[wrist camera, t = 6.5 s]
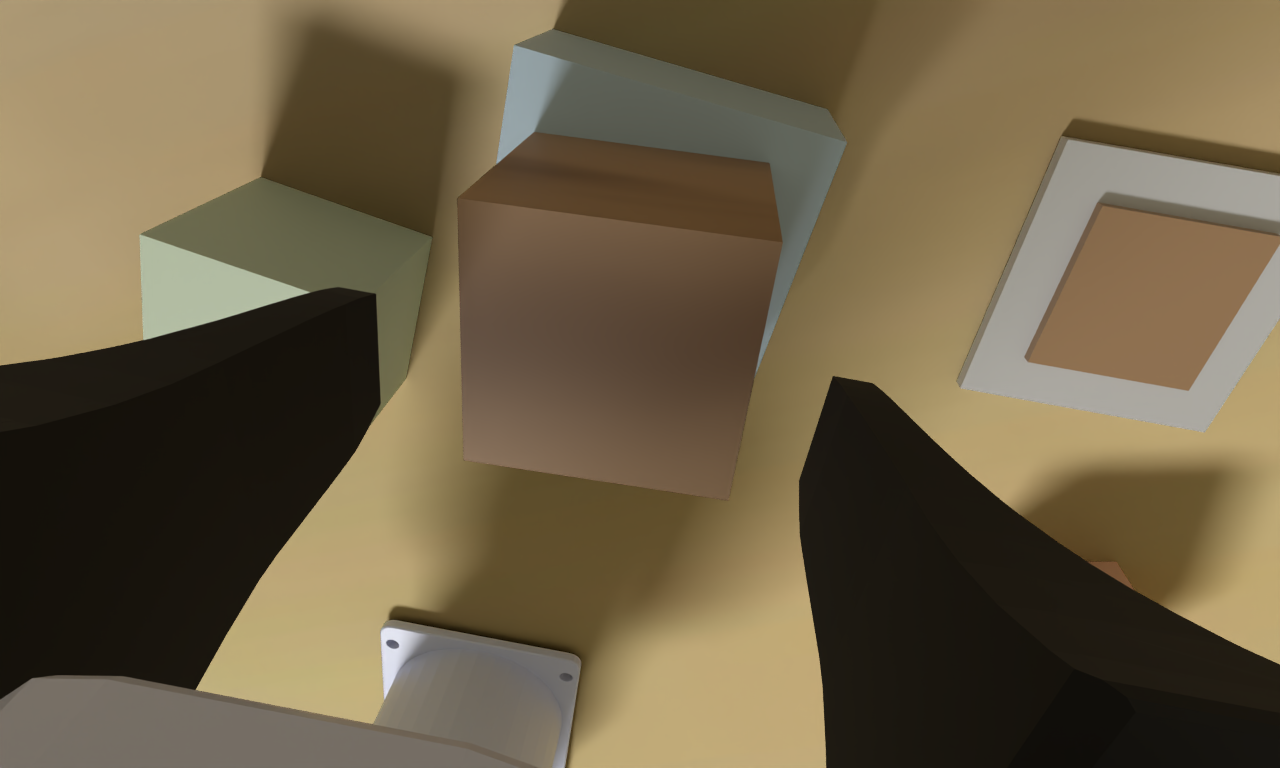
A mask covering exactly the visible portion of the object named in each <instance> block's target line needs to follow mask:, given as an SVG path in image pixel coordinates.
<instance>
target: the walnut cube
mask: <svg viewBox="0 0 1280 768" xmlns="http://www.w3.org/2000/svg"><path fill="white" fill-rule="evenodd" d="M457 208H458V249H459V291H460V332H461V373H462V414H463V455H464V460H465V461H471V462H478V463H485V464H491V465H498V466H504V467H511V468H517V469H524V470H531V471H537V472H544V473H550V474H557V475H563V476H570V477H576V478H583V479H590V480H596V481H603V482H609V483H616V484H622V485H629V486H635V487H642V488H649V489H655V490H662V491H668V492H675V493H681V494H688V495H695V496H701V497H708V498H714V499H721V500H727V501H729V496H730V491H731V487H732V482H733V477H734V472H735V468H736V463H737V458H738V453H739V449H740V444H741V439H742V434H743V430H744V425H745V420H746V415H747V411H748V406H749V401H750V396H751V392H752V387H753V382H754V377H755V373H756V368H757V363H758V358H759V354H760V349H761V344H762V339H763V335H764V330H765V325H766V320H767V316H768V311H769V306H770V301H771V297H772V292H773V287H774V282H775V278H776V273H777V268H778V263H779V259H780V254H781V249H782V244H783V240H782V234H781V228H780V222H779V216H778V210H777V204H776V198H775V192H774V186H773V180H772V174H771V168H770V163H767V162H759V161H752V160H744V159H737V158H729V157H721V156H714V155H706V154H699V153H691V152H683V151H676V150H668V149H661V148H653V147H645V146H638V145H630V144H623V143H615V142H607V141H600V140H592V139H585V138H577V137H569V136H562V135H554V134H546V133H539V132H533V133H532V134H531V135H530V136H529V137H528V138H526V139H525V140H524V141H523V142H522V143H521V144H519V145H518V146H517V147H516V148H515V149H514V150H512V151H511V152H510V153H509V154H508V155H507V156H505V157H504V158H503V159H502V160H501V161H500V162H499V163H497V164H496V165H495V166H494V167H493V168H492V169H490V170H489V171H488V172H487V173H486V174H485V175H483V176H482V177H481V178H480V179H479V180H478V181H477V182H475V183H474V184H473V185H472V186H471V187H470V188H468V189H467V190H466V191H465V192H464V193H463V194H461V195H460V196H459V197H458V198H457Z"/></svg>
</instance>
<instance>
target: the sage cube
mask: <svg viewBox="0 0 1280 768" xmlns="http://www.w3.org/2000/svg"><path fill="white" fill-rule="evenodd" d="M431 243H432V237H431V236H428V235H425V234H422V233H420V232H417V231H414V230H411V229H408V228H405V227H402V226H399V225H397V224H394V223H391V222H388V221H385V220H382V219H379V218H377V217H374V216H371V215H368V214H365V213H362V212H359V211H357V210H354V209H351V208H348V207H345V206H342V205H339V204H337V203H334V202H331V201H328V200H325V199H322V198H319V197H317V196H314V195H311V194H308V193H305V192H302V191H299V190H297V189H294V188H291V187H288V186H285V185H282V184H279V183H276V182H274V181H271V180H268V179H265V178H262V177H260V178H258V179H256V180H253V181H251V182H249V183H247V184H245V185H243V186H241V187H239V188H237V189H234V190H232V191H230V192H228V193H226V194H224V195H222V196H220V197H218V198H215V199H213V200H211V201H209V202H207V203H205V204H203V205H201V206H198V207H196V208H194V209H192V210H190V211H188V212H186V213H184V214H182V215H179V216H177V217H175V218H173V219H171V220H169V221H167V222H165V223H162V224H160V225H158V226H156V227H154V228H152V229H150V230H148V231H146V232H143V233H141V234H140V260H141V287H142V315H143V340H146V339H150V338H154V337H158V336H161V335H165V334H169V333H172V332H176V331H180V330H183V329H187V328H191V327H194V326H198V325H202V324H205V323H209V322H213V321H217V320H220V319H223V318H227V317H230V316H233V315H236V314H240V313H243V312H246V311H249V310H253V309H256V308H259V307H263V306H266V305H269V304H272V303H276V302H279V301H282V300H286V299H289V298H292V297H296V296H299V295H303V294H307V293H310V292H314V291H318V290H323V289H328V288H334V287H342V288H347V289H353V290H358V291H364V292H369V293H375V294H376V301H377V325H378V349H379V373H380V397H381V405H380V407H379V408H378V410H377V412H376V414H375V416H374V418H373V420H372V422H373V421H374V420H375V418H376V417H377V416H378V414H379V413H380V412H381V411H382V409H383V408H384V407H385V405H386V404H387V403H388V401H389V400H390V399H391V398H392V396H393V395H394V394H395V392H396V391H397V390H398V388H399V387H400V386H401V385H402V383H403V382H404V381H405V379H406V376H407V371H408V366H409V360H410V355H411V350H412V344H413V339H414V334H415V328H416V323H417V318H418V312H419V307H420V301H421V296H422V291H423V285H424V280H425V275H426V269H427V264H428V259H429V253H430V248H431ZM372 422H371V424H372ZM371 424H370V425H371Z"/></svg>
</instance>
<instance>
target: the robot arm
mask: <svg viewBox="0 0 1280 768" xmlns="http://www.w3.org/2000/svg"><path fill="white" fill-rule="evenodd" d="M380 405H381V397H380V373H379V349H378V325H377V301H376V294H375V293H369V292H364V291H358V290H353V289H347V288H342V287H334V288H328V289H323V290H318V291H314V292H310V293H307V294H303V295H299V296H296V297H292V298H289V299H286V300H282V301H279V302H276V303H272V304H269V305H266V306H263V307H259V308H256V309H253V310H249V311H246V312H243V313H240V314H236V315H233V316H230V317H227V318H223V319H220V320H217V321H213V322H209V323H205V324H202V325H198V326H194V327H191V328H187V329H183V330H180V331H176V332H172V333H169V334H165V335H161V336H158V337H154V338H150V339H146V340H142V341H138V342H133V343H129V344H124V345H120V346H115V347H111V348H106V349H101V350H95V351H90V352H85V353H80V354H75V355H69V356H64V357H58V358H52V359H46V360H38V361H31V362H23V363H16V364H8V365H1V366H0V768H565V765H566V759H567V752H568V746H569V740H570V733H571V727H572V721H573V714H574V708H575V701H576V695H577V689H578V682H579V676H580V670H581V660H580V659H579V657H577V656H576V655H574V654H571V653H567V652H562V651H556V650H551V649H546V648H541V647H535V646H530V645H525V644H520V643H514V642H509V641H504V640H498V639H493V638H488V637H483V636H477V635H472V634H467V633H462V632H456V631H451V630H446V629H441V628H435V627H430V626H425V625H419V624H414V623H409V622H404V621H398V620H389V621H386V622H385V623H384V625H383V627H382V629H381V632H380V635H381V653H382V672H383V690H384V702H383V704H382V706H381V709H380V711H379V713H378V715H377V717H376V719H375V721H374V724H369V723H363V722H358V721H353V720H348V719H343V718H337V717H332V716H327V715H322V714H317V713H311V712H306V711H301V710H296V709H291V708H285V707H280V706H275V705H270V704H265V703H260V702H254V701H249V700H244V699H239V698H234V697H228V696H223V695H218V694H213V693H208V692H202V691H197V690H196V688H197V686H198V684H199V682H200V681H201V679H202V677H203V675H204V674H205V672H206V670H207V668H208V666H209V665H210V663H211V661H212V659H213V658H214V656H215V654H216V652H217V650H218V649H219V647H220V645H221V643H222V642H223V640H224V638H225V636H226V634H227V633H228V631H229V629H230V628H231V626H232V625H233V623H234V621H235V620H236V618H237V616H238V615H239V613H240V611H241V610H242V608H243V606H244V605H245V603H246V601H247V600H248V598H249V596H250V595H251V593H252V591H253V590H254V588H255V586H256V585H257V583H258V581H259V580H260V578H261V577H262V575H263V574H264V573H265V571H266V570H267V568H268V567H269V565H270V564H271V563H272V561H273V560H274V558H275V557H276V555H277V554H278V553H279V551H280V550H281V549H282V548H283V546H284V545H285V544H286V542H287V541H288V540H289V538H290V537H291V536H292V535H293V533H294V532H295V531H296V529H297V528H298V527H299V525H300V524H301V523H302V522H303V520H304V519H305V518H306V516H307V515H308V514H309V512H310V511H311V510H312V509H313V507H314V506H315V505H316V503H317V502H318V501H319V499H320V498H321V497H322V496H323V494H324V493H325V492H326V490H327V489H328V488H329V486H330V485H331V484H332V482H333V481H334V480H335V478H336V477H337V476H338V474H339V473H340V472H341V470H342V469H343V468H344V466H345V465H346V464H347V462H348V461H349V460H350V458H351V457H352V455H353V454H354V453H355V451H356V449H357V448H358V446H359V444H360V442H361V441H362V439H363V437H364V435H365V433H366V432H367V430H368V428H369V426H370V424H371V422H372V420H373V418H374V416H375V414H376V412H377V410H378V408H379V407H380ZM799 521H800V539H801V546H802V553H803V559H804V566H805V572H806V578H807V585H808V591H809V597H810V603H811V609H812V615H813V621H814V627H815V634H816V640H817V646H818V652H819V658H820V667H821V676H822V684H823V701H824V721H825V741H826V768H1280V665H1279V664H1277V663H1275V662H1273V661H1271V660H1268V659H1266V658H1264V657H1262V656H1260V655H1257V654H1255V653H1253V652H1251V651H1248V650H1246V649H1244V648H1242V647H1240V646H1238V645H1236V644H1234V643H1232V642H1230V641H1228V640H1226V639H1224V638H1222V637H1220V636H1218V635H1216V634H1214V633H1212V632H1210V631H1209V630H1207V629H1205V628H1203V627H1201V626H1199V625H1197V624H1195V623H1193V622H1191V621H1189V620H1187V619H1185V618H1183V617H1181V616H1180V615H1178V614H1176V613H1174V612H1172V611H1170V610H1168V609H1167V608H1165V607H1163V606H1161V605H1159V604H1158V603H1156V602H1154V601H1152V600H1150V599H1149V598H1147V597H1145V596H1143V595H1141V594H1140V593H1138V592H1136V591H1134V590H1133V589H1131V588H1129V587H1128V586H1126V585H1124V584H1123V583H1121V582H1120V581H1118V580H1116V579H1115V578H1113V577H1111V576H1110V575H1108V574H1106V573H1105V572H1103V571H1102V570H1100V569H1098V568H1097V567H1095V566H1093V565H1092V564H1090V563H1088V562H1087V561H1085V560H1084V559H1082V558H1081V557H1079V556H1078V555H1076V554H1075V553H1073V552H1072V551H1070V550H1069V549H1067V548H1065V547H1064V546H1062V545H1061V544H1060V543H1058V542H1057V541H1055V540H1054V539H1053V538H1051V537H1050V536H1048V535H1047V534H1046V533H1044V532H1043V531H1041V530H1040V529H1039V528H1037V527H1036V526H1035V525H1033V524H1032V523H1030V522H1029V521H1028V520H1026V519H1025V518H1023V517H1022V516H1021V515H1019V514H1018V513H1017V512H1015V511H1014V510H1013V509H1012V508H1010V507H1009V506H1008V505H1006V504H1005V503H1004V502H1003V501H1001V500H1000V499H999V498H998V497H997V496H995V495H994V494H993V493H992V492H991V491H989V490H988V489H987V488H986V487H985V486H984V485H982V484H981V483H980V482H979V481H978V480H976V479H975V478H974V477H973V476H972V475H971V474H969V473H968V472H967V471H966V470H965V469H964V468H963V467H962V466H960V465H959V464H958V463H957V462H956V461H955V460H954V459H953V458H952V457H951V456H950V455H948V454H947V453H946V452H945V451H944V450H943V449H942V448H941V447H940V446H939V445H938V444H937V443H936V442H935V441H934V440H933V439H932V438H930V437H929V436H928V435H927V434H926V433H925V432H924V431H923V430H922V429H921V428H920V427H919V426H918V425H917V424H916V423H915V422H914V421H913V420H912V419H911V418H910V417H909V416H908V415H907V414H906V413H905V412H904V411H903V410H902V409H901V408H900V407H899V406H898V405H897V404H896V403H895V402H894V401H893V400H892V399H890V398H889V397H888V396H887V395H886V394H885V393H884V392H883V391H882V390H881V389H879V388H878V387H877V386H876V385H874V384H873V383H869V382H863V381H857V380H852V379H846V378H841V377H835V376H833V378H832V381H831V384H830V387H829V390H828V393H827V396H826V400H825V403H824V406H823V409H822V412H821V415H820V418H819V421H818V424H817V427H816V430H815V434H814V437H813V440H812V443H811V446H810V449H809V452H808V455H807V458H806V461H805V464H804V467H803V471H802V474H801V477H800V480H799Z"/></svg>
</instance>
